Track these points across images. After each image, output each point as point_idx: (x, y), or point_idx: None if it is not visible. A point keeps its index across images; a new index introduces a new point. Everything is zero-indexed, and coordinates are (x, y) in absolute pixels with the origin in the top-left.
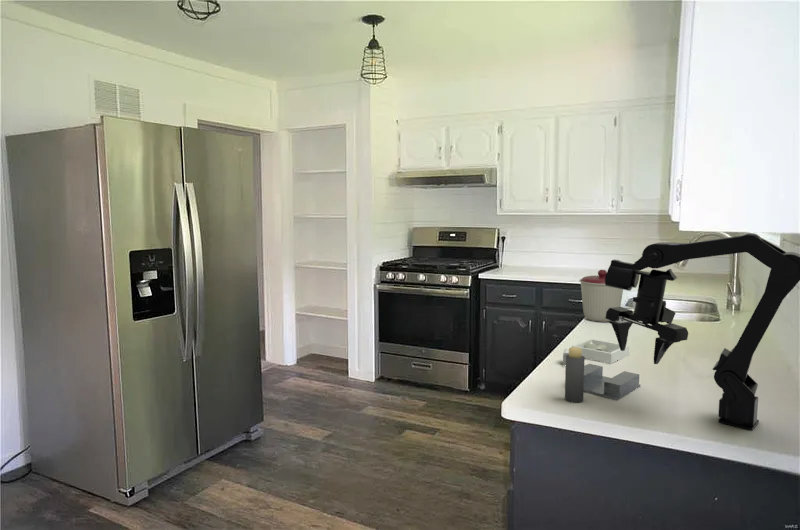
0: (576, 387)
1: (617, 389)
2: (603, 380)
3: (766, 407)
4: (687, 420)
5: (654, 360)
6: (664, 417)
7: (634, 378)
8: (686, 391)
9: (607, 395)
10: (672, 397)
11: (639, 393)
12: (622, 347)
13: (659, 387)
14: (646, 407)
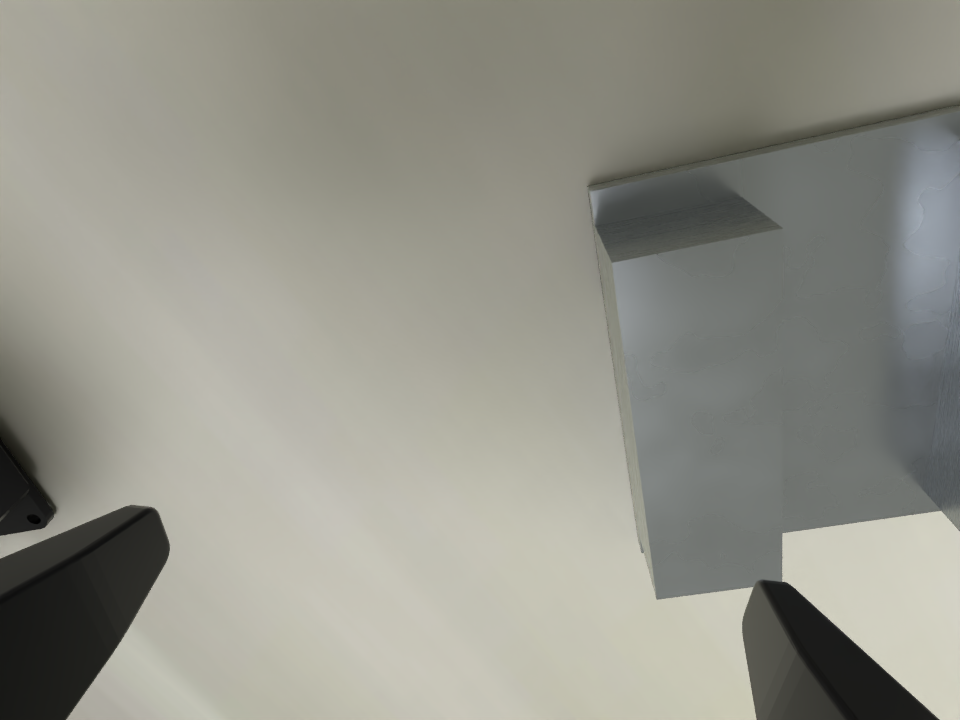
0: None
1: (625, 240)
2: (885, 440)
3: (89, 708)
4: (48, 259)
5: (95, 533)
6: (147, 171)
7: (644, 521)
8: (423, 647)
9: (686, 170)
10: (400, 527)
11: (569, 440)
12: (775, 634)
13: (553, 604)
14: (359, 243)
